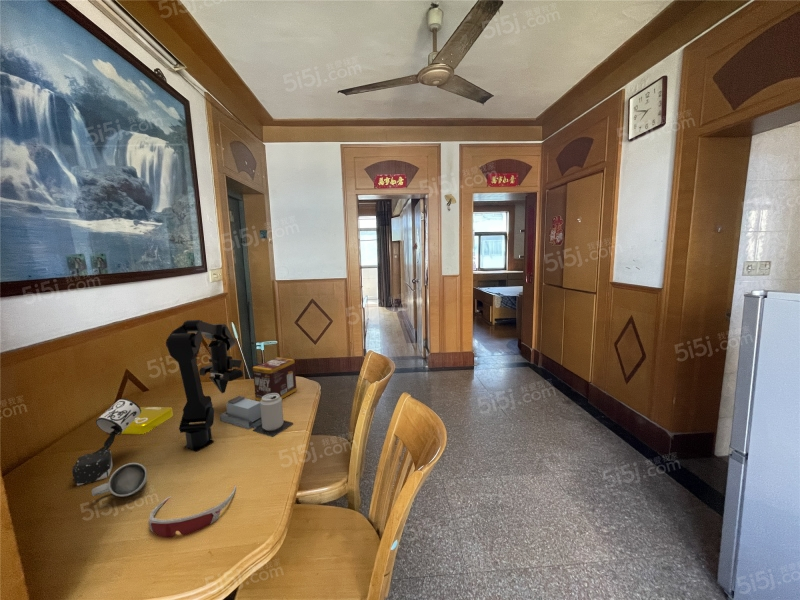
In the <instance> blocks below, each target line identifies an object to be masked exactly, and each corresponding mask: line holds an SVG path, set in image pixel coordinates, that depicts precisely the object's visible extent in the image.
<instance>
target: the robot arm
mask: <svg viewBox="0 0 800 600" xmlns="http://www.w3.org/2000/svg"><path fill="white" fill-rule="evenodd" d="M203 335H204V337H203ZM204 338H206V339H208V340H210V343H209V344H208V346H207V347H208V348H209V350H210V358H208V362H209V363H211V364H209V365H205V366H202V367H201V368H200V369H199V367H198V366H199V365H198V363H197V362H198V361H197V355H198V353H199V351H200V349H201V346H200V345H201V343H202V341H203V339H204ZM235 344H236V339H235V338H234V336H233V335H232V333H231V331H230V329H229V327H228V326H227V324H226V323H219V324H214V323H209V322H206V321H203V320H200V319H188V320H186V321H183V323H182V325H180V326H179V327H177V328H176V329H174V330H172V332H171V333H169V335H168V336H167V338H166V341H165V345H166V349H167V351H168V354H169V356H170V357H171V358H173V360H175V361H176V362H177V364H178V368H179V372H180V376H181V380H182V385H183V390H184V394H185V397H186V403H185V404H184V407H183V409H182V416H181V420H180V422H179V427H178V431H179V432H180V434H181V433H182V434H183V433H184V434H185V440H186V445H184V446H183V448H185V449H187V450H190V451H192V452H195V453H196V452H199V451H201V450H203V449H205V448H206V447H208V446H210V445H212V444H214V442H215V440H213V439H212V428H211V427H212V426H213V425H214V422H215V421H214V419H215V409H214V407H213V406H214V404H213V401H212V397H211V396H210V395H205V394H204V391H203V386H202V380H201V376H203V377H204V376H206V375H207V373H209V374H210V376H209V377H208V379H210V381H211V382H213V384H214V385H215V386H216V388H217V390H219V392H220V393H221V394H224V393H225V392H226V389H227V387H228V386H227V385H228V382H233V381H235V380H237V379H240V378H242V377H243V378H244V371H243V370H241V368H242V361H243V360H242V359H238V358H237V359H236V358H233V356H229V355H228V351H229V350H230V349H232V348H233V347H234V346H235ZM238 368H239V369H238Z"/></svg>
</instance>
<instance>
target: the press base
mask: <svg viewBox="0 0 800 600" xmlns="http://www.w3.org/2000/svg"><path fill="white" fill-rule="evenodd" d="M219 418H220V421H221V422H223V423H225V424H226V423H227V424H230V425H233V426H237V427H240V428H244V429H246V430H251V429H252V432H254V433H257V434H262V435H265V436H268V437H271V438H274V437H275V436H277V435H279V434H280V433H282V432H284V431H285V430H286V429H289V427H292V426H293V425H294V423H293V422H291V421H288V420H284V419H283V421H284V423H283V425H282V426H281V427H280V428H278V429H276V430H273V431H267V430H265V429H263V428H262V419H261V418H259V419H257V420H255V421H254V422H252V421H249V420H246V419H242V418H239V417H235V416H231V415H228V414H227V410H226V411H224V412H222V413H220V414H219Z"/></svg>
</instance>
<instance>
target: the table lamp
mask: <svg viewBox="0 0 800 600" xmlns="http://www.w3.org/2000/svg"><path fill="white" fill-rule="evenodd" d="M140 407H141V406H139V405H138V403H136V402H134V401H133V400H130V399H128V398H118V400H117V401H116V402H115V403H113V404H112V405H111V406H110V407H108V409H107V410H105V412H104V413H102V414H101V415H100V416H98V418H97V419H96V420H95V425H96V426H97V427H98V429H99V430H101V431H102V432H105V433H107V434H109V436H108V437H107V438H106V440H105V441H104V444H103V446H102V447H101V448H100V449H98V450H95V451H94V452H92V453H87V454H84V455H81V456H79V457H78V458H77V461H76V462H75V464H74V465H72V471H71V473H72V478H73V482H74V483H75V484H76V486H77V487H78V486H82V485H88V484H90V483H94V482H96V481H99V480H100V481H101V480H103V479H107V478H109V477H110V474H111V471H112V469H113V466H114V463H113V457H112V451H111V446H112V445H113V443H114V441H115V439H116V436H119V435H122V434H121V433H122V432H123V431H124V430H125V429H126V428H127V427H128V426H129V425H130V424H131V422H132V421H133V420H134V419H135V418H136V417H137V416H138V415H139V414H140V413H141V409H140Z"/></svg>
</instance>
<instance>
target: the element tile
mask: <svg viewBox="0 0 800 600" xmlns="http://www.w3.org/2000/svg"><path fill="white" fill-rule="evenodd" d="M139 407H140V409H141V413H140V414H139V415H138V416H137V417H136V418H135V419H134V420H133V421H132V422H131V424H130V425H129V426H128V427H127V428H126V429H125V430H124V431H123V432H122V433H121V434H120V435H145V434H147V433H146V432H148V433H150V432H151V431H153V430H154V429H156V428H157V427H158V426H160V425H161V424H162V423H164V422H166V421H167V420H169V419H170V418H172V417H173V416H174V413H173V408H172V407H170V406H169V407H168V406H164V407H163V406H139ZM156 426H157V427H156ZM155 427H156V428H155ZM153 428H154V429H153ZM152 429H153V430H152ZM150 430H151V431H150ZM149 431H150V432H149ZM144 433H145V434H144Z"/></svg>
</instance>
